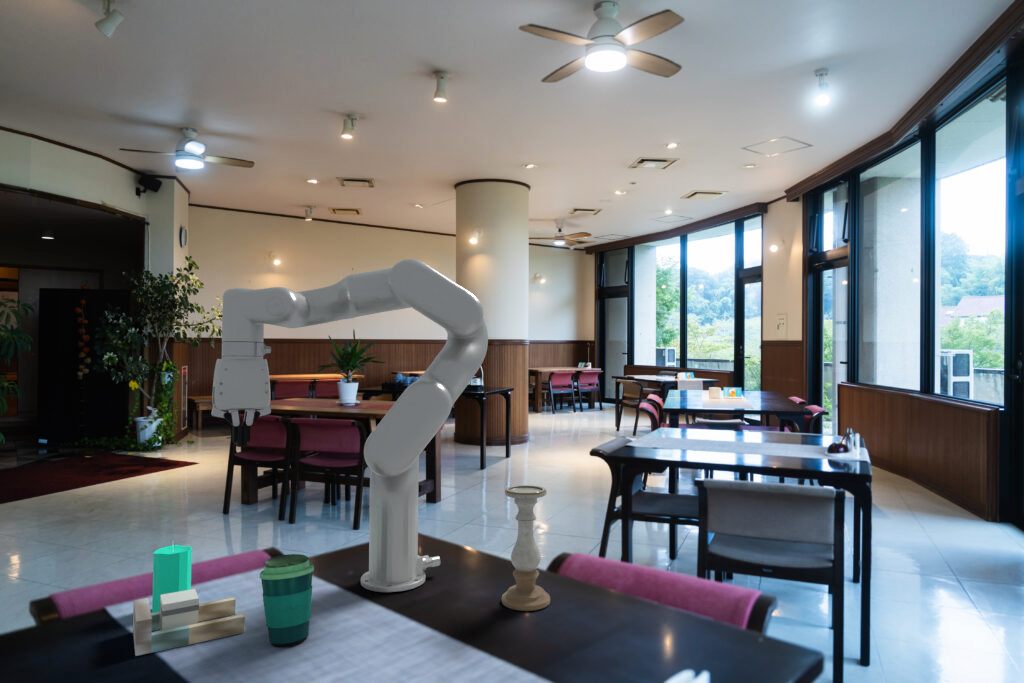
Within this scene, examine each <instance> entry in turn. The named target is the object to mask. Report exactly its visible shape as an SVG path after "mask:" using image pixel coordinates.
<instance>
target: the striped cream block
mask: <svg viewBox="0 0 1024 683" xmlns="http://www.w3.org/2000/svg"><path fill="white" fill-rule="evenodd" d="M199 601H200V598H199V595H198V592H197V590H196V588H191V590H185V591H179V592H174V593H168V594H162V595H160V630H159V631H162V630H167V629H172V628H177V627H182V626H187V625H192V624H197V623H199V622H198V611H199V604H200V603H199Z"/></svg>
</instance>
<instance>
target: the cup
mask: <svg viewBox="0 0 1024 683" xmlns="http://www.w3.org/2000/svg"><path fill="white" fill-rule="evenodd" d="M263 567H264V568H263V570H261V571H260V572H259V579H261V585H262V602H263V608H264V617H265V625H266V628H267V635H268V642H269V643H270V645H271V646H273V647H276V648H288V647H289V648H290V647H294V646H297V645H300V644H303V643H304V641H306V640H307V639H308V636H309V631H310V620H311V617H312V616H311V615H312V613H311V612H312V601H313V600H312V598H313V584H312V583H313V572H314V571H315V566H314V564H312V563H311V562H310V559H309V557H308V556H307V555H304V554H298V553H295V554H289V553H288V554H282V555H277V556H273V557H270V558H269V559H267V560H266V561H265V563H264V566H263Z"/></svg>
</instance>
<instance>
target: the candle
mask: <svg viewBox="0 0 1024 683" xmlns="http://www.w3.org/2000/svg"><path fill="white" fill-rule="evenodd" d="M192 551H193V549H192V546H191V545H179V544H174V541H172V545H168V546H164V547H161V548H158V549H156V550H155V551H154V552H153V554H152V555H153V556H152V557H153V559H152V561H153V562H152V567H153V568H152V602H151V603H152V605H151V608H152V609H151V613H154V612H159V611H160V595H162V594H168V593H174V592H179V591H185V590H191V589H192V556H193V555H192V553H193V552H192Z"/></svg>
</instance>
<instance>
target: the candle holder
mask: <svg viewBox="0 0 1024 683" xmlns="http://www.w3.org/2000/svg"><path fill="white" fill-rule="evenodd" d="M504 495H505V496H506V497H509V498H513V500H514V501H513V502H514V504H516V506H517V508H518V512H517V514H516V515H515V517H514V519H515V520H516V521H517V523H518V524H517V537H516V541H515V543H514V546H513V547H512V549H511V550H512V551H511V554H510V561H511V564H512V565H513V567H514V568H515V569H514V570H513V571H512V576H513V577H514V579H515V584H514V585H511V586H509V588H508V589H507V591H505V592H504V593H503V594H502V596H501V603H502V605H503V606H505V607H506V608H508V609H510V610H515V611H520V612H521V611H525V612H530V611H532V612H533V611H538V610H542V609H544V608H547V607H548V606H549V605H550V603H551V596H550V594H549V593H548V592H547V591H545V590H544V588H543V587H542V586H540V585H537V584H536V581H537V578H538V577H539V575H540V572H539V570H537V568H538V566H539V565H540V564H541V560H542V559H541V558H542V556H541V552H540V548H539V547H538V545H537V541H536V539H535V532H534V531H535V530H534V522H535V520H536V519H537V516H536V514H535V513H534V508H535V506H536V504H537V503H538V499H539V498H543V497H545V496H547V488H546V487H543V486H538V485H529V484H528V485H526V484H523V485H520V484H519V485H514V486H512V485H511V486H509V487H506V488H505V491H504Z"/></svg>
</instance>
